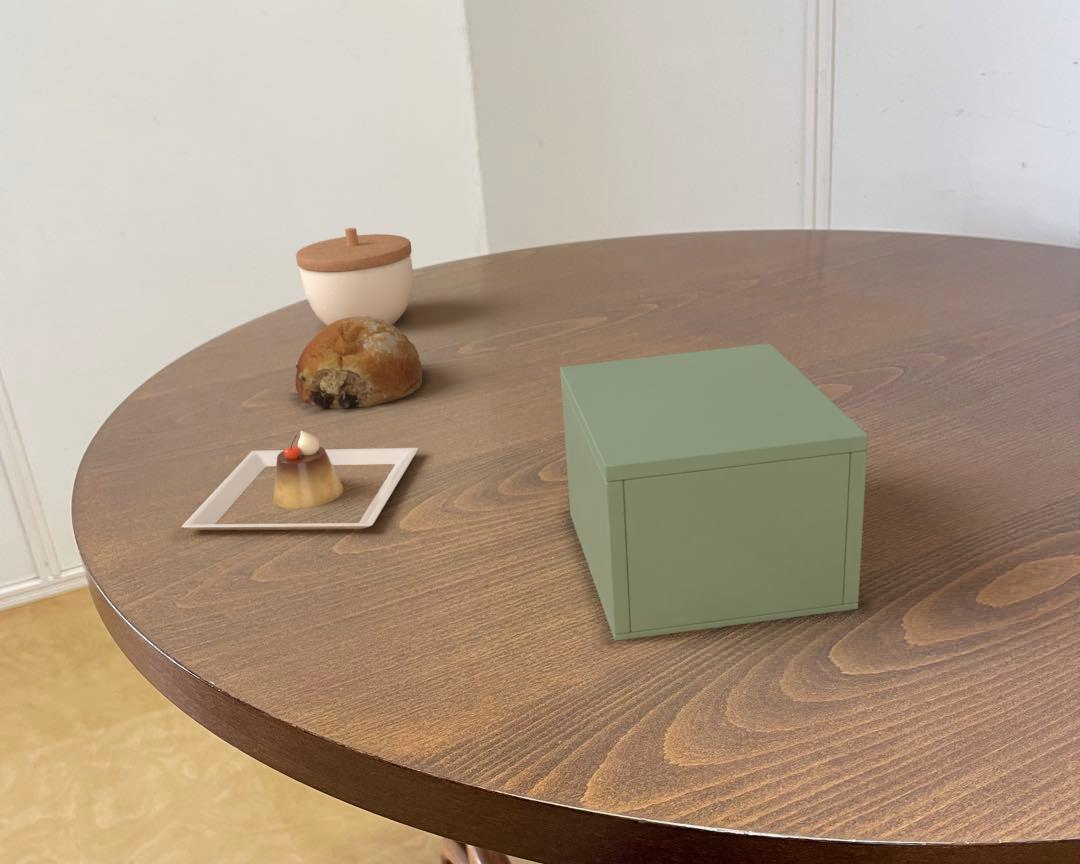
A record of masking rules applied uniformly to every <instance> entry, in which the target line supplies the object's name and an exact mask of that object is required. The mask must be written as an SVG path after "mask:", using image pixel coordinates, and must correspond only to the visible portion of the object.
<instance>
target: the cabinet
mask: <svg viewBox="0 0 1080 864" xmlns="http://www.w3.org/2000/svg"><path fill="white" fill-rule="evenodd" d="M559 375H560V378H559V379H560V388H561V389H560V390H561V391H560V392H561V403H562V419H563V431H564V433H563V434H564V447H565V460H566V475H567V487H568V488H567V489H568V501H569V515H570V517H571V520H572V523H573V526H574V529H575V532H576V534H577V537H578V538H577V539H578V540H579V543H580V546H581V550H582V551H583V554H584V557H585V560H586V564H587V567H588V569H589V572H590V574H591V577H592V580H593V584H594V586H595V589H596V591H597V595H598V597H599V600H600V604H601V606H602V609H603V612H604V615H605V618H606V620H607V623H608V626H609V628H610V629H609V630H610V632H611V635H612V638H613V640H614V641H623V640H631V639H639V638H645V637H653V636H661V635H667V634H669V635H670V634H677V633H685V632H692V631H699V630H707V629H712V628H721V627H729V626H736V625H743V624H744V625H745V624H750V623H751V624H753V623H759V622H766V621H775V620H781V619H782V620H783V619H789V618H797V617H804V616H811V615H812V616H813V615H819V614H827V613H828V614H829V613H834V612H842V611H851V610H857V609H859V599H860V597H859V596H860V581H861V563H862V545H863V531H864V530H863V528H864V511H865V493H866V475H867V461H868V451H867V450H868V443H869V434H868V433H867V432H866V431H865V430H864V429H862V428H861V426H859V424H857V423H856V422H855V421H854V420H853V419H852V418H851V417H850V416H849V415H847V414H846V413H845V411H843V409H841V408H840V407H839V406H838V405H837V404H835V403H834V401H833V400H831V399H830V398H829V397H828V396H827V395H826V394H825V393H824V392H823V390H821V389H820V388H818V387H817V385H815V384H814V382H812V381H811V380H810V379H809V378H808V377H807V376H806V375H804V373H803V372H802V371H801V370H800V369H798V368H797V367H796V366H795V365H794V364H793V363H792V362H790V360H789V359H787V358H786V357H785V356H784V355H783V354H782V353H781V352H780V351H779V350H778V349H777V348H776V347H775V346H773V344H771V343H769V342H768V343H759V344H753V345H751V344H750V345H744V346H743V345H742V346H735V347H726V348H718V349H707V350H699V351H691V352H690V351H689V352H680V353H673V354H672V353H671V354H663V355H655V356H647V357H637V358H629V359H619V360H611V361H601V362H592V363H584V364H576V365H575V364H574V365H568V366H567V365H566V366H561V367H559Z"/></svg>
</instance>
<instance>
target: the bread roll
mask: <svg viewBox="0 0 1080 864" xmlns="http://www.w3.org/2000/svg"><path fill="white" fill-rule="evenodd" d="M295 368H296V374H295V390H296V392H297V394H298V396H299V398H300V400H301V401H303V402H304V404H306V405H310V406H312V407H317V408H322V409H344V410H347V409H352V408H366V407H368V408H369V407H371V406H377V405H378V406H379V405H381V404H384V403H390V402H393V401H397V400H400V399H402V398H404V397H407V396H409V395H412V394H413V393H414V392H415V391H417V390H418V389H419V388H420V387H421V385H423V369H422V368H423V367H422V363H421V360H420V355H419V353H418V350H417V349H416V346H415V344H414V343H413V342H411V340H409V338H408V336H406V334H404V333H403V332H402V331H401V330H400V329H398V328H397V327H396V326H395V325H394V324H392V325H391V324H389V323H388V322H386V321H383V320H380V319H377V318H373V317H366V316H358V317H347V318H344V319H340V320H337V321H335V322H333V323H331V324H330V325H326V326H325V327H324V328H322V329H321V330H320V331H318V332H317V333H316V334H315V335H314V337H313V338H312V339H311V340H310V341H309V342H308V343H307V345H306V346H305V347H304V349H302V351H301V354H300V356H299V357H298V360H297V364H295Z"/></svg>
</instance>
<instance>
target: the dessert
mask: <svg viewBox="0 0 1080 864" xmlns="http://www.w3.org/2000/svg"><path fill="white" fill-rule="evenodd" d="M297 437H298V435H297V434H296V435H295V437H294V439H293V441H292V442H291V444H290V447H287V448H285V449H275V450H274V449H271V450H265V449H264V450H251V451H250V452H249V453H248V454H247V455H246V457H244V458H243V460H242V461H241V462H240V463H239V464H238V465H237V466H236V467H235V468H234V469H233V470H232V472H231V473H230V474H229V475H228V476H227V477H226V478H225V479H224V480H223V481H222V482H221V483H220V484H219V485H218V486H217V487H216V488H215V490H214V491H213V492H212V493H211V494H210V495H209V496H208V497H207V498H206V499H205V500H204V501H203V502H202V503H201V505H200V506H199V507H198V508H197V509H196V510H195V511H194V512H193V513H192V514H191V515H190V516H189V517H188V519H187V520H186V521H185V522H184V523H183V524H182V525H181V528H184V529H188V530H189V529H190V530H197V531H198V530H199V531H275V530H276V531H281V530H283V531H284V530H285V531H286V530H287V531H288V530H290V531H291V530H292V531H293V530H295V531H296V530H297V531H299V530H362V529H367V528H369V527H372V526H374V524H375V522H376V520H377V518H378V517H379V516H380V514H381V512H382V511H383V509H384V507H385V505H386V504H387V502H388V501H389V499H390V497H391V495H392V494H393V492H394V490H395V488H396V487H397V485H398V483H399V482H400V480H401V479H402V477H403V475H404V473H405V472H406V471H407V469H408V467H409V465H410V463H411V462H412V460H413V459H414V457H415V455H416V453H417V452H418V450H419V447H379V448H378V447H377V448H376V447H375V448H374V447H373V448H329V449H327V448H326V449H325V448H324V447H322V446H321V445H320V441H319V439H318V438H317V437H316V436H314V435H313V434H311V433H309V432H306V431H304V430H300V435H299V438H298V441H297V445H293V443H295V441H296V439H297ZM352 465H353V466H355V465H356V466H358V465H359V466H360V465H361V466H362V465H363V466H364V465H394V466H393V467H392V469H391V471H390V472H389V474H388V476H387V477H386V479H385V480H384V481H383V484H382V485H381V486H380V488H379V489H378V491H377V493H376V494H375V496H374V498H373V499H372V501H371V502H370V504H369V506H368V507H367V509H366V511H365V512H364V514H363V515H362V517H361V519H360V520H359V522H312V523H311V522H305V523H304V522H303V523H301V522H300V523H295V522H293V523H290V522H289V523H217V522H218V521H220V519H221V518H222V517H223V515H225V514H226V512H227V511H228V510H229V509H230V508H231V506H232V505H233V504H234V503H235V502H236V501H237V500H238V498H239V497H240V496H241V495H242V494H243V492H245V491H246V489H247V488H248V487H249V486H250V485H251V484H252V482H253V481H254V480H255V479H256V478H257V477H258V476H259V474H261V472H262V471H263V470H264V469H265V468H267V467H275V474H274V475H275V476H274V486H273V494H272V502H273V503H274V504H275V505H276V506H278V507H281V508H283V509H288V510H289V509H290V510H292V509H293V510H300V509H302V510H303V509H310V508H311V509H312V508H315V507H319V506H323V505H326V504H328V503H331V502H333V501H335V500H337V499H338V498H339V497H341V496H342V495H343V493H344V491H345V489H344V488H345V487H344V486H343V484H342V482H341V479H340V478H339V476H338V474H337V472H336V470H335V467H334V466H352Z"/></svg>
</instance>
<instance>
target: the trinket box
mask: <svg viewBox="0 0 1080 864" xmlns="http://www.w3.org/2000/svg"><path fill="white" fill-rule="evenodd" d="M344 232H345V236H341V237H336V238H330V239H325V240H320V241H317V242H314V243H311V244H308V245H306V246H303V247H302V248H300V249H299V250H298V251H297V252H296V254H295V259H296V264H297V266H298V268H299V274H300V280H301V284H302V287H303V291H304V294H305V297H306V300H307V302H308V304H309V307H310V308H311V310H312V311H313V313H314V315H316V317H317V318H318V319H319V320H320V321H321V322H322V323H324V325H326V326H328V325H330V324H331V323H333V322H335V321H337V320H340V319H344V318H347V317H358V316H366V317H373V318H377V319H380V320H383V321H386V322H388V323H389V324H391V325H394V324H395V323H396V322H397V321H398V320H399V319H400V318H401V317H402V315H403V314H404V313H405V311H406V310H407V308H408V306H409V304H410V301H411V299H412V298H411V297H412V294H413V282H414V281H413V280H414V276H413V275H414V271H413V269H414V268H413V261H412V243H411V241H410V239H409V238H407V237H404V236H402V235H397V234H396V235H395V234H387V233H386V234H381V233H380V234H379V233H376V234H375V233H374V234H358V232H357V228H356V227H349V228H345V229H344Z"/></svg>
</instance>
